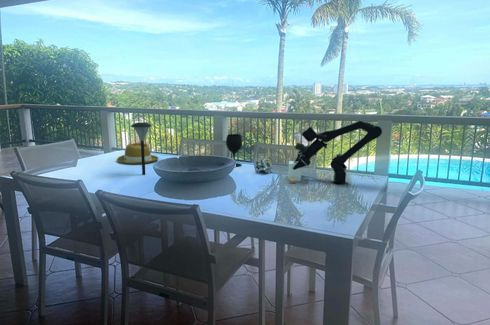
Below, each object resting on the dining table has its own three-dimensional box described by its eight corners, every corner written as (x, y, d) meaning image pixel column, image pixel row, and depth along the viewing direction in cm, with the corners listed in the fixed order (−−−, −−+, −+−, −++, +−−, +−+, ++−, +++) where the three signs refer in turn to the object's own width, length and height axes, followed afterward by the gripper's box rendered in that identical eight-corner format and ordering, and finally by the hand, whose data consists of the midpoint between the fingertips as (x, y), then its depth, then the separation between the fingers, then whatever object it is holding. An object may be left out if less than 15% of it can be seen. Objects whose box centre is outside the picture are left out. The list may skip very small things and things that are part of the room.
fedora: (147, 155, 272) (146, 139, 269) (165, 162, 250) (165, 145, 247) (110, 160, 255) (109, 143, 253) (127, 167, 233) (126, 149, 231)
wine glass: (235, 167, 234) (235, 136, 230) (222, 165, 240) (222, 135, 236) (245, 165, 242) (245, 134, 238) (232, 163, 248) (232, 133, 244)
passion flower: (268, 182, 220) (267, 169, 211) (251, 177, 224) (250, 164, 215) (275, 169, 227) (275, 156, 218) (259, 164, 231) (258, 151, 222)
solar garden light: (157, 172, 219) (155, 122, 213) (150, 177, 207) (148, 124, 201) (137, 171, 220) (135, 121, 214) (129, 176, 208) (126, 123, 202)
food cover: (300, 177, 209) (300, 160, 206) (300, 180, 202) (301, 162, 200) (288, 177, 209) (288, 159, 207) (288, 180, 203) (289, 162, 201)
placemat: (302, 187, 189) (302, 187, 189) (275, 185, 194) (275, 184, 194) (309, 178, 210) (309, 177, 209) (285, 175, 214) (285, 175, 214)
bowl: (296, 183, 196) (297, 178, 196) (290, 184, 195) (290, 179, 195) (293, 181, 200) (294, 177, 199) (287, 182, 199) (287, 177, 198)
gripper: (302, 135, 210) (282, 153, 213) (305, 140, 191) (283, 160, 195) (315, 149, 211) (295, 167, 214) (319, 155, 192) (297, 175, 196)
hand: (292, 167), depth 204 cm, fingers open, 9 cm apart
